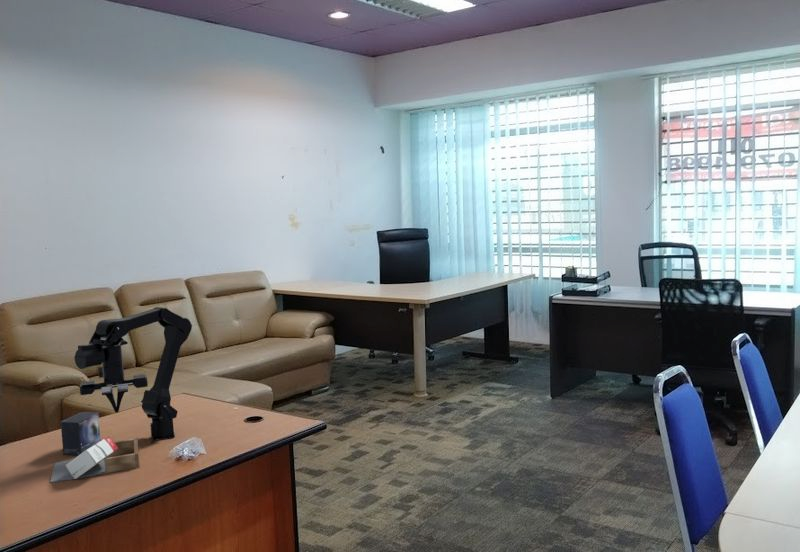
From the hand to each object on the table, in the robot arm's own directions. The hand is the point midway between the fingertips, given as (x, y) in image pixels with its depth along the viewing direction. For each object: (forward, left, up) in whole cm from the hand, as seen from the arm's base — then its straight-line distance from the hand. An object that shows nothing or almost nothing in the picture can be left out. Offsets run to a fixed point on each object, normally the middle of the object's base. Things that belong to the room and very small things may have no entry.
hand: (116, 412), depth 216 cm
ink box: (+4, +9, -8) cm, 13 cm away
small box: (+11, -9, -13) cm, 19 cm away
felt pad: (+11, +9, -12) cm, 19 cm away
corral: (0, +9, -12) cm, 15 cm away
